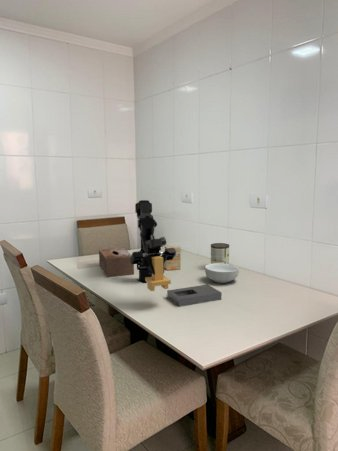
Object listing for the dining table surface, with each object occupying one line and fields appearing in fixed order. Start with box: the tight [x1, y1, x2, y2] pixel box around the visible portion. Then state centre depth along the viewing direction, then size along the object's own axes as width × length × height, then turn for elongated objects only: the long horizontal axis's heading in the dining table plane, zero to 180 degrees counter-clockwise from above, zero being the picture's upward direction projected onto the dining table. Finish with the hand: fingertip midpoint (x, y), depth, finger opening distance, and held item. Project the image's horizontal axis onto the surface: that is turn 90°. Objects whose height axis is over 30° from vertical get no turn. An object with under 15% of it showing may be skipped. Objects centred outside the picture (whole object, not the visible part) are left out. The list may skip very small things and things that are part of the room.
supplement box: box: [164, 245, 182, 271], centre depth 198 cm, size 8×5×13 cm, turn 105°
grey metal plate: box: [166, 284, 222, 307], centre depth 152 cm, size 12×20×3 cm, turn 114°
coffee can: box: [210, 242, 230, 264], centre depth 196 cm, size 10×10×14 cm
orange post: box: [145, 256, 172, 292], centre depth 144 cm, size 8×8×13 cm
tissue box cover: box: [98, 247, 135, 278], centre depth 198 cm, size 26×14×10 cm, turn 19°
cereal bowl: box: [204, 263, 240, 284], centre depth 177 cm, size 17×17×7 cm
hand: (158, 273), depth 143 cm, fingers closed on orange post, 4 cm apart
